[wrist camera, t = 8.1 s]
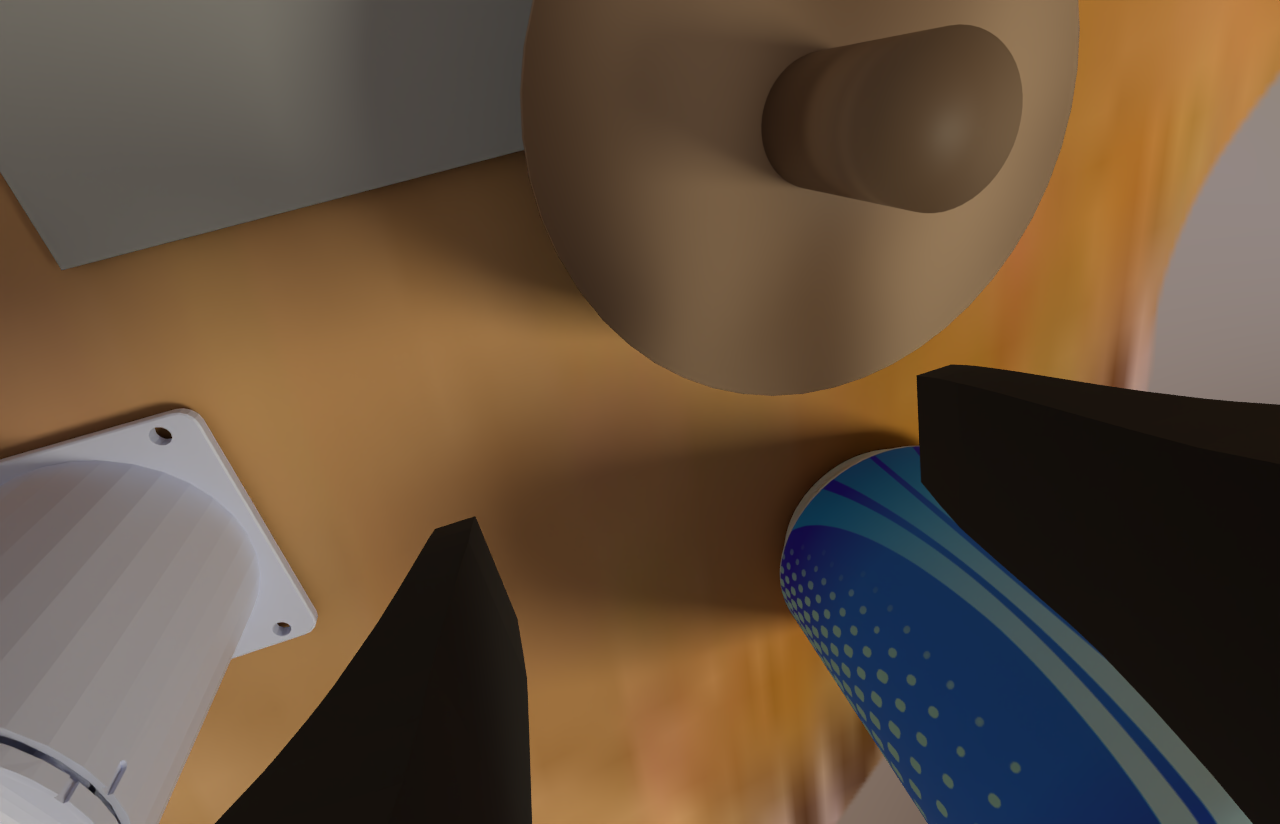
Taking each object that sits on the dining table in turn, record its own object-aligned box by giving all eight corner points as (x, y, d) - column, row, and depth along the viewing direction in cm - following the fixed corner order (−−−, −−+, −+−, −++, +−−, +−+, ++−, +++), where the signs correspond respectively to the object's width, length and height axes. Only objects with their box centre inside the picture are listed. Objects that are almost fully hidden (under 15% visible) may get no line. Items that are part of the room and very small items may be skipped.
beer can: (742, 481, 23) (1177, 1061, 9) (958, 395, 24) (1682, 807, 10) (788, 647, 27) (1145, 1241, 13) (973, 569, 28) (1509, 1050, 13)
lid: (627, 453, 16) (683, 570, 12) (411, -134, 11) (374, -292, 7) (1053, 285, 17) (1243, 339, 13) (1044, -332, 12) (1360, -579, 8)
